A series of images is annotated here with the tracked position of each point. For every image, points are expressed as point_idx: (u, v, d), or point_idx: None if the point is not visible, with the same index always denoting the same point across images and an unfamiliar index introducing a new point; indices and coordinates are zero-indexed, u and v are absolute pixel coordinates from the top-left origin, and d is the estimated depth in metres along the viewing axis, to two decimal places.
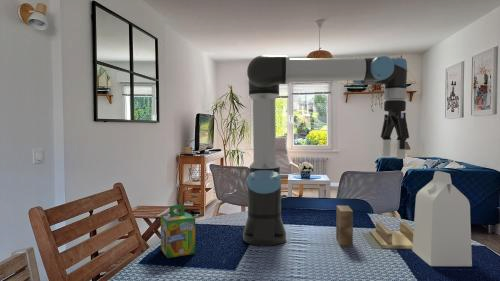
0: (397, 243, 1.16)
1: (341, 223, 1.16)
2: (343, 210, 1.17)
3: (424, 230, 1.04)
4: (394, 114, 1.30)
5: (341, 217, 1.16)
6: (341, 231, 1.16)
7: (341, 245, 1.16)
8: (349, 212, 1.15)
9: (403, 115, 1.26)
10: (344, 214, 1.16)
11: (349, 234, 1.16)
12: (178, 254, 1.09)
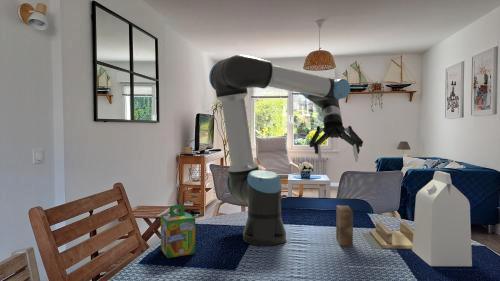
0: (397, 243, 1.16)
1: (341, 223, 1.16)
2: (343, 210, 1.17)
3: (424, 230, 1.04)
4: (340, 126, 1.43)
5: (341, 217, 1.16)
6: (341, 231, 1.16)
7: (341, 245, 1.16)
8: (349, 212, 1.15)
9: None
10: (344, 214, 1.16)
11: (349, 234, 1.16)
12: (178, 254, 1.09)
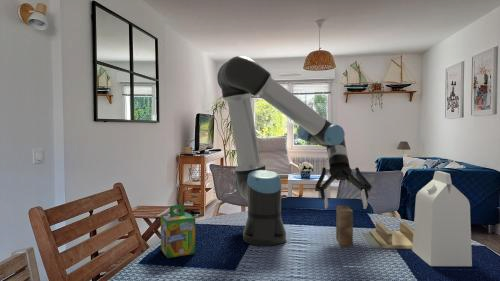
0: (397, 243, 1.16)
1: (341, 223, 1.16)
2: (343, 210, 1.17)
3: (424, 230, 1.04)
4: (347, 168, 1.35)
5: (341, 217, 1.16)
6: (341, 231, 1.16)
7: (341, 245, 1.16)
8: (349, 212, 1.15)
9: None
10: (344, 214, 1.16)
11: (349, 234, 1.16)
12: (178, 254, 1.09)
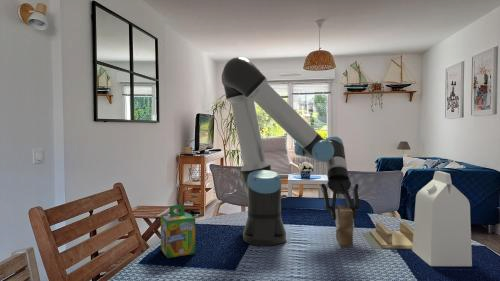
0: (397, 243, 1.16)
1: (341, 223, 1.16)
2: (343, 210, 1.17)
3: (424, 230, 1.04)
4: (347, 181, 1.29)
5: (341, 217, 1.16)
6: (341, 231, 1.16)
7: (341, 245, 1.16)
8: (349, 212, 1.15)
9: None
10: (344, 214, 1.16)
11: (349, 234, 1.16)
12: (178, 254, 1.09)
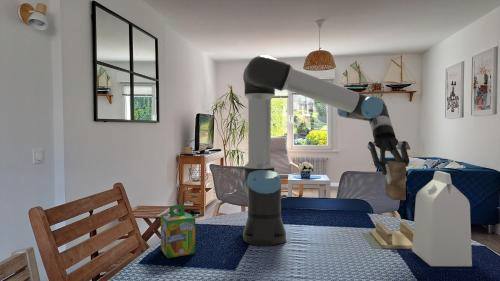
0: (397, 243, 1.16)
1: (394, 175, 1.17)
2: (395, 163, 1.17)
3: (424, 230, 1.04)
4: (394, 138, 1.30)
5: (394, 169, 1.16)
6: (394, 183, 1.17)
7: (394, 197, 1.17)
8: (402, 164, 1.16)
9: None
10: (397, 166, 1.16)
11: (402, 187, 1.17)
12: (178, 254, 1.09)
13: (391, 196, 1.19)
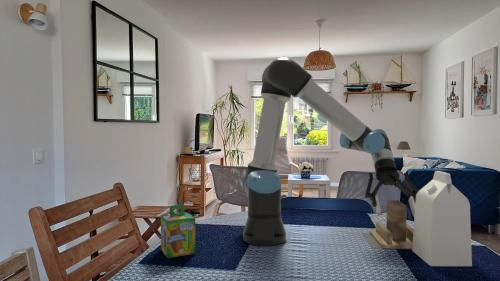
0: (397, 243, 1.16)
1: (395, 217, 1.17)
2: (396, 204, 1.18)
3: (424, 230, 1.04)
4: (395, 173, 1.30)
5: (395, 211, 1.17)
6: (395, 225, 1.18)
7: (394, 239, 1.18)
8: (403, 206, 1.17)
9: None
10: (398, 208, 1.17)
11: (403, 229, 1.17)
12: (178, 254, 1.09)
13: (392, 237, 1.19)
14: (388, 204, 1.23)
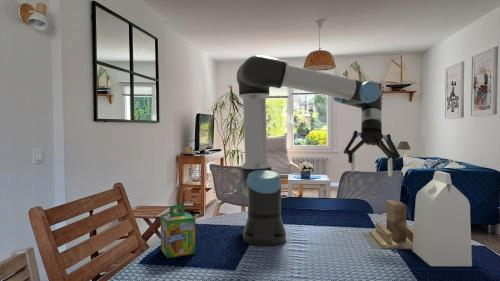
0: (397, 243, 1.16)
1: (395, 217, 1.17)
2: (396, 204, 1.18)
3: (424, 230, 1.04)
4: (379, 134, 1.36)
5: (395, 211, 1.17)
6: (395, 225, 1.18)
7: (394, 239, 1.18)
8: (403, 206, 1.17)
9: None
10: (398, 208, 1.17)
11: (403, 229, 1.17)
12: (178, 254, 1.09)
13: (392, 237, 1.19)
14: (388, 204, 1.23)
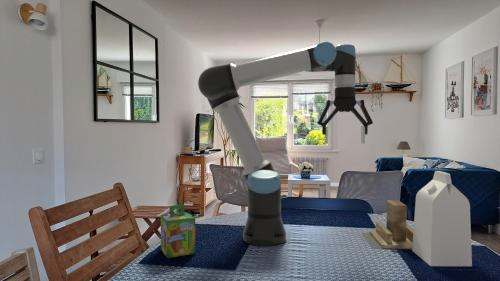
0: (397, 243, 1.16)
1: (395, 217, 1.17)
2: (396, 204, 1.18)
3: (424, 230, 1.04)
4: (352, 101, 1.33)
5: (395, 211, 1.17)
6: (395, 225, 1.18)
7: (394, 239, 1.18)
8: (403, 206, 1.17)
9: None
10: (398, 208, 1.17)
11: (403, 229, 1.17)
12: (178, 254, 1.09)
13: (392, 237, 1.19)
14: (388, 204, 1.23)
